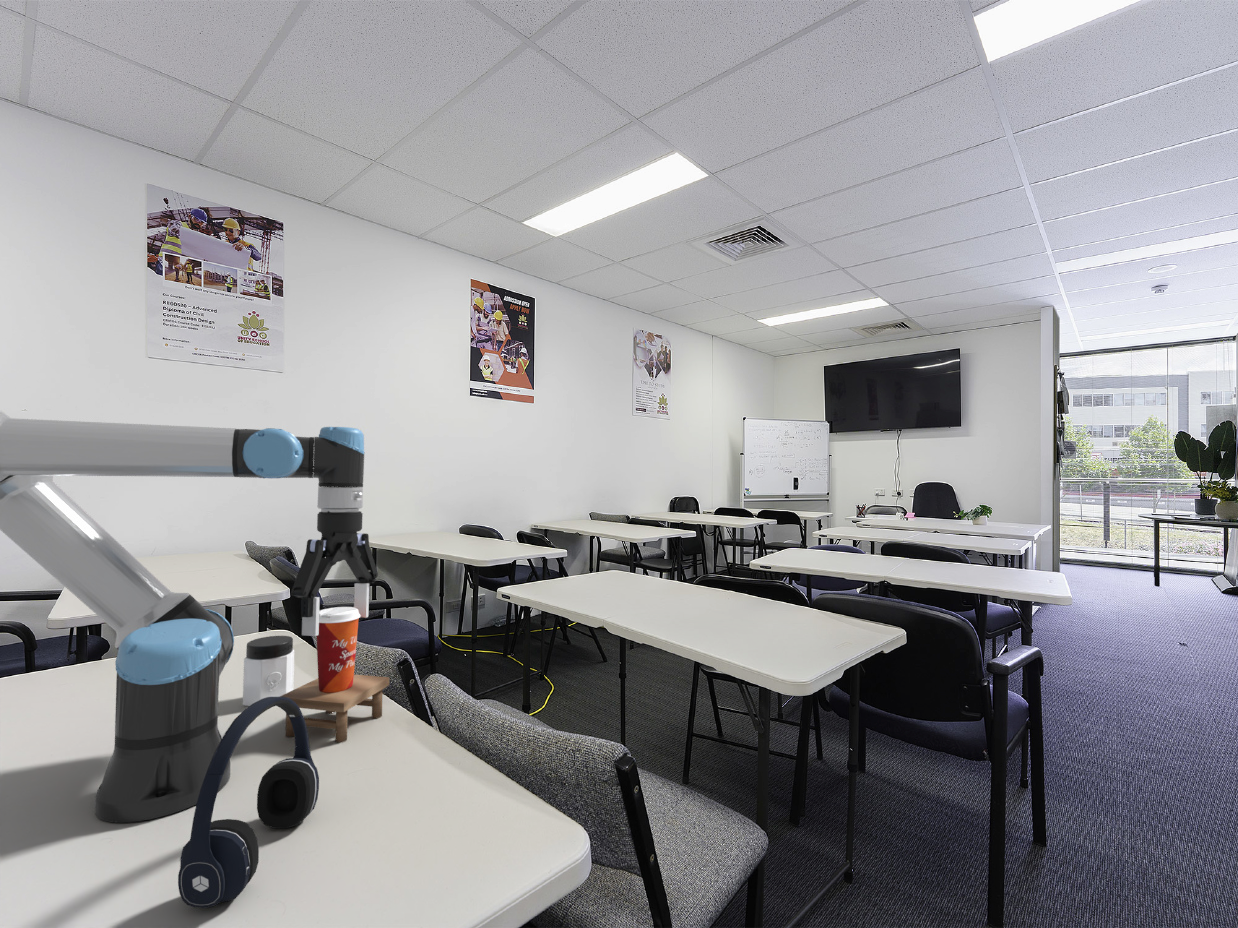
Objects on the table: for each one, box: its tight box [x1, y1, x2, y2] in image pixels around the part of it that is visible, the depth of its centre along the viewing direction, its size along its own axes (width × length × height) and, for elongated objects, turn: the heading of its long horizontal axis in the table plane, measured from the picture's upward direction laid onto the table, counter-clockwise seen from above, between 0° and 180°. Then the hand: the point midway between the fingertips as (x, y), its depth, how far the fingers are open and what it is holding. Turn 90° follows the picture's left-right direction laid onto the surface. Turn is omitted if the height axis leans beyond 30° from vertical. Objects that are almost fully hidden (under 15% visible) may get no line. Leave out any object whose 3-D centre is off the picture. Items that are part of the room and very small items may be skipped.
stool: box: [280, 673, 390, 744], centre depth 103 cm, size 13×13×7 cm
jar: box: [242, 635, 295, 707], centre depth 115 cm, size 9×8×12 cm
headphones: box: [177, 697, 320, 909], centre depth 67 cm, size 20×7×18 cm, turn 2°
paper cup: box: [316, 606, 361, 693], centre depth 103 cm, size 8×8×14 cm
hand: (337, 625), depth 104 cm, fingers open, 13 cm apart
